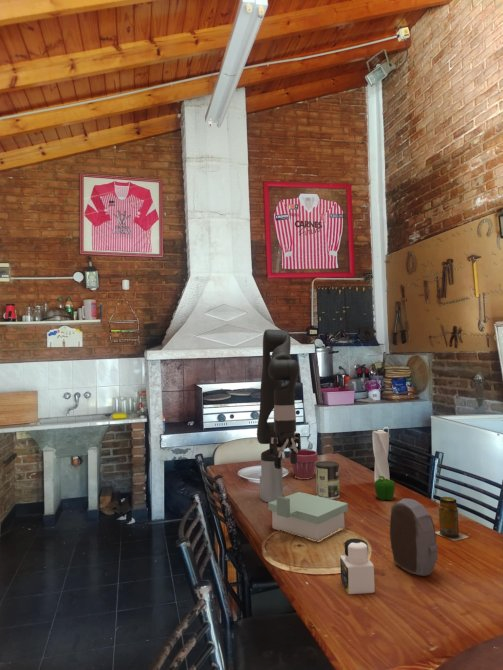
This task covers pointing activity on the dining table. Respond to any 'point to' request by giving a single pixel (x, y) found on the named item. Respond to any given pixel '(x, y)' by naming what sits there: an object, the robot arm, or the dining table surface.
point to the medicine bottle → (357, 568)
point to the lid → (307, 507)
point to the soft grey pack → (413, 537)
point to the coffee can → (327, 479)
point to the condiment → (449, 519)
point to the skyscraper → (381, 453)
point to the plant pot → (305, 463)
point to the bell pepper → (384, 488)
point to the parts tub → (308, 526)
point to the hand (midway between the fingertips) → (285, 466)
